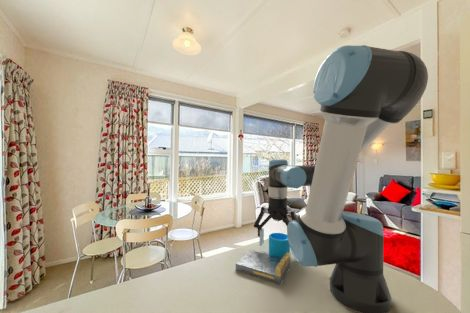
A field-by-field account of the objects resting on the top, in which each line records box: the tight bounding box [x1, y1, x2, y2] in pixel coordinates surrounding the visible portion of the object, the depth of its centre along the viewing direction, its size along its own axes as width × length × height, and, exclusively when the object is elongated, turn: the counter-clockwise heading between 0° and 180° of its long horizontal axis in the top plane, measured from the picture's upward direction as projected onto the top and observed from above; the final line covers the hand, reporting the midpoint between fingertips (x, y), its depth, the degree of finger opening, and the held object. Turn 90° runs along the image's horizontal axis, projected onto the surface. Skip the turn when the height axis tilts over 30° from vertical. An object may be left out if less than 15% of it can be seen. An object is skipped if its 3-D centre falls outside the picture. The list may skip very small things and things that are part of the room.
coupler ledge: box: [235, 249, 291, 286], centre depth 73 cm, size 16×12×5 cm
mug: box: [268, 232, 291, 258], centre depth 83 cm, size 12×8×8 cm
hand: (277, 248), depth 84 cm, fingers open, 13 cm apart
